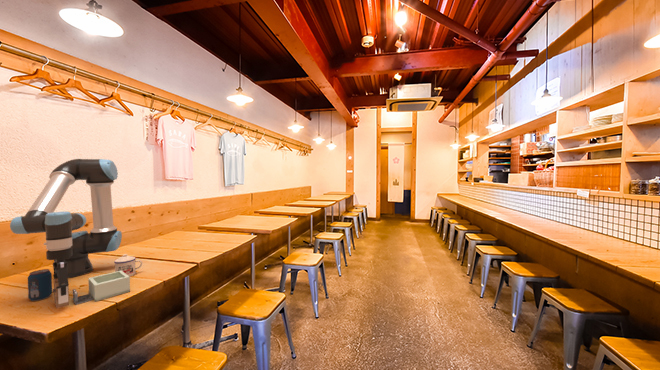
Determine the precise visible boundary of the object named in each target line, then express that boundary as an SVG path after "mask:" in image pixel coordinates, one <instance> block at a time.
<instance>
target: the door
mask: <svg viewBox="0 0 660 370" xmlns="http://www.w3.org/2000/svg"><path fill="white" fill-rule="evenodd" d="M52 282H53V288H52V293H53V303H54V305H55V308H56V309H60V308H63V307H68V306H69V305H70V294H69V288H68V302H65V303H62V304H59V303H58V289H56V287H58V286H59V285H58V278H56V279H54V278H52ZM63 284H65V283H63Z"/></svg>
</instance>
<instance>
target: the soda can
mask: <svg viewBox="0 0 660 370" xmlns="http://www.w3.org/2000/svg"><path fill="white" fill-rule="evenodd" d="M52 276H53V275H52V272H51V270H50V269H48V268H46V269H45V268H44V269H39V270H34V271H32V272H30V273H29V275H28V276H27V293H28V294H27V297H28V299H29V301H31V302H36V301H37V302H38V301H42V300H45V299H47V298H49V297H51V295H52V294H53V278H52Z"/></svg>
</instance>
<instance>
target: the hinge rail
mask: <svg viewBox="0 0 660 370" xmlns="http://www.w3.org/2000/svg"><path fill="white" fill-rule="evenodd" d="M71 292H72V301H73V303H74V305H77V306H78V305H80V304H83V303H87V302H91V301H94V298H93V297H92V295H91V294H89V293H88V294H83V295H80V296H79V295H78V291H77V289H75V288H73V289H72V291H71Z"/></svg>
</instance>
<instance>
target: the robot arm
mask: <svg viewBox="0 0 660 370" xmlns="http://www.w3.org/2000/svg"><path fill="white" fill-rule="evenodd" d="M118 173H119V172H118V168H117V166H116V164H115V162H114V161H112V160H111V159H106V158H105V159H103V158H100V159H99V158H98V159H97V158H95V159H94V158H89V159H88V158H74V159H71V160H67V161H65V162H63V163H61V164H59V165H58V166H56V167H55V168H54V169H53V170H52V171H51V172H50V174H49V177H48V178H49V180H48V181H47V183H46V185H45V186H44V187H43V189H42V190H41V192H40V193H39V195H38V196H37V198H36V199H35V200H34V202H33V203H32V205H31V207H29V209H28V210H27V212H26V214H25V215H21V216H16V217H14V218H12V220H11V221H10V224H9V228H10V230H11V232H12V233H14V234H16V235H30V234H38V233H45V242H44V243H43V245H44V246H45V247H46V253H45V254H46V258H45V259H46V260H48V261H53V262H52V269H53V275H52V276H53V279H56V278H58V285H59V286H58V287H56V289H58V303H59V304H62V303H65V302H68V289H69V285H70V283H69V278H76V277H79V276H83V275H86V274H89V273H92V272H93V271H94V269H93V268H94V266H93V264H92V262H91V260H90V258H89V255H90V254H99V253H109V252H115V251H117V250H118V249H119V248H120V246H121V243H122V238H123V236H122V235H123V233H122V231H121V230H118V227H117V226H115V225H114V215H113V214H114V213H113V202H112V185H113V184H114V183H115V180H117V179H118V177H119V176H118ZM77 181H85V183H86V185H87V186H89V188H90V199H91V200H90V201H91V202H90V203H91V213H92V223H93V225H92V226H93V228H92V229H91V230H89V231H88V230H79V229H81V228H83V227H84V226H86V223H87V217H86V216H85V215H84V214H82V213H79V212H75V213H71V212H70V211H55V210H56V209H57V207H58V206H59V204H60V202H61V200H62V199H63V197H64V196H65V194H66V192H67V191H68V189H69V187H70V186H72V185H73V184H75V182H77ZM75 230H79V231H75ZM73 231H74V232H73ZM63 283H65V284H63Z"/></svg>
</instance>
